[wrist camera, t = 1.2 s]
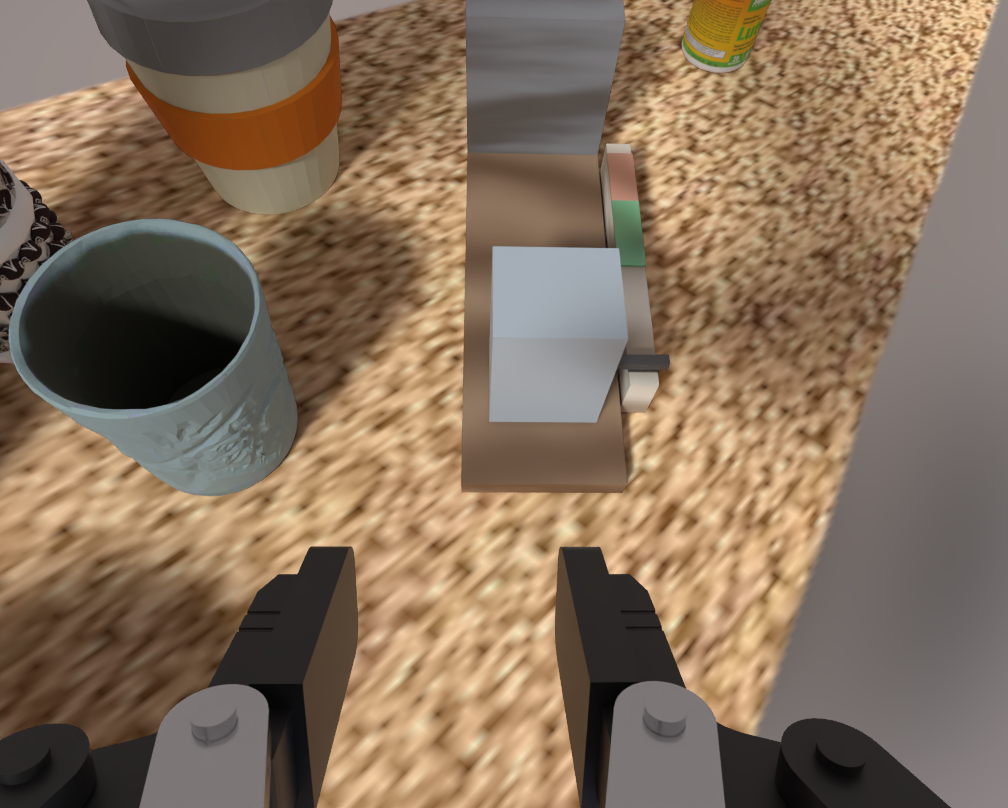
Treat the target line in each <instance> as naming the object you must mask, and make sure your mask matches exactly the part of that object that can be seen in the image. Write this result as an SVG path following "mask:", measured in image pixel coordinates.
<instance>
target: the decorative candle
mask: <svg viewBox="0 0 1008 808" xmlns="http://www.w3.org/2000/svg"><path fill="white" fill-rule="evenodd" d="M56 221H57V216H56V214H55V212H54V211H52V210H51V209H49V208H48V207H47V206H46V205H45V204H43V203H42V197H41V195H40V193H39V192H38V191H37V190H35V189H33V188H30V187H29V185H28V184H27V183H26V182H24V181H22V180H19V179H18V178H17V177H16V176H15V174H14V173H13V172H12V171H11V170H10V168H9V167H8V166H7V165H6V163H5V162H4V161H1V160H0V363H12V364H14V362H13V359H12V357H11V353H10V345H9V324H10V320H11V316H12V313H13V310H14V307H15V303H16V300H17V299H18V297H19V295H20V294H21V292H22V290H23V289H24V287H25V285H26V284H27V282H28V280H29V279H30V278H31V277H32V275H33V274H34V273H35V272H36V271H37V270H38V269H39V267H40V266H41V265H42V264H43V263H44V262H46V261H47V260H48V259H49V258H50V257H51V256H53V255H54V254H55V253H56V252H57V251H59V250H60V249H61V248H63V247H64V246H66V245H67V244H69V243H71V242H73V240H72V239H73V234H72V233H71V232H70V231H68V230H65V229H64V227H63V226H62V225H61V224H60V223H59V222H56Z"/></svg>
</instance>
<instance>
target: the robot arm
mask: <svg viewBox="0 0 1008 808" xmlns="http://www.w3.org/2000/svg"><path fill="white" fill-rule="evenodd" d="M357 639H358V608H357V592H356V575H355V558H354V551H353V548H352V547H310V548H309V550H308V552H307V554H306V556H305V558H304V561H303V563H302V565H301V567H300V570H299V572H298V574H279V575H277V576H276V577H275V578H274V579H273V580H271V581H270V582H269V583H268V584H266V585H265V586H264V587H263V588H262V589H260V590H259V591H258V592H257V594H256V596H255V598H254V600H253V602H252V604H251V606H250V608H249V610H248V614H247V615H245V617H244V619H243V621H242V623H241V625H240V627H239V632H237V633H236V635H235V637H234V638H233V640H232V642H231V644H230V646H229V648H228V650H227V652H226V654H225V656H224V658H223V660H222V662H221V663H220V665H219V667H218V669H217V671H216V673H215V675H214V677H213V679H212V681H211V683H210V685H209V686H208V688H207V689H204V690H201V691H199V692H196V693H194V694H192V695H190V696H189V697H187V698H185V699H184V700H182V701H181V702H179V703H178V704H177V705H176V706H174V707H173V708H172V709H171V710H170V711H169V712H168V714H167V715H166V716H165V717H164V719H163V721H162V722H161V724H160V727H159V730H158V732H157V733H154V734H152V735H149V736H146V737H143V738H139V739H136V740H132V741H128V742H124V743H120V744H116V745H112V746H108V747H104V748H100V749H96V750H92V751H91V749H90V745H89V740H88V737H87V735H86V734H85V732H83V731H82V730H81V729H80V728H77V727H75V726H72V725H68V724H46V725H40V726H35V727H32V728H28V729H25V730H22V731H20V732H17V733H15V734H13V735H10V736H8V737H6V738H4V739H2V740H1V741H0V808H316V807H317V803H318V799H319V796H320V792H321V788H322V784H323V780H324V776H325V772H326V768H327V764H328V760H329V756H330V752H331V748H332V745H333V741H334V737H335V733H336V729H337V725H338V721H339V717H340V713H341V709H342V705H343V701H344V697H345V693H346V690H347V686H348V682H349V678H350V674H351V670H352V666H353V662H354V658H355V654H356V648H357ZM555 643H556V654H557V661H558V667H559V673H560V680H561V686H562V693H563V699H564V706H565V712H566V718H567V725H568V731H569V738H570V744H571V751H572V757H573V763H574V770H575V776H576V783H577V789H578V796H579V802H580V808H951V807H950V806H948V805H947V804H946V803H945V802H944V801H943V800H942V799H940V798H939V797H938V796H937V795H936V794H935V793H934V792H932V791H931V790H930V789H929V788H928V787H927V786H926V785H925V784H923V783H922V782H921V781H920V780H919V779H918V778H917V777H915V776H914V775H913V774H912V773H911V772H910V771H909V770H907V769H906V768H905V767H904V766H903V765H902V764H900V763H899V762H898V761H897V760H896V759H895V758H894V757H893V756H892V755H890V754H889V753H888V752H887V751H886V750H885V749H883V748H882V747H881V746H880V745H879V744H878V743H877V742H875V741H874V740H873V739H871V738H870V737H868V736H867V735H865V734H864V733H862V732H860V731H859V730H857V729H855V728H853V727H850V726H848V725H845V724H843V723H839V722H836V721H833V720H827V719H816V718H813V719H804V720H801V721H797V722H795V723H793V724H791V726H789V727H788V728H787V729H786V730H785V732H784V734H783V736H782V740H781V742H777V741H773V740H769V739H765V738H761V737H757V736H753V735H749V734H745V733H741V732H738V731H735V730H732V729H730V728H727V727H725V726H723V725H721V724H719V723H717V722H716V719H715V717H714V714H713V712H712V711H711V709H710V708H709V706H708V705H707V704H706V703H705V702H704V701H703V700H702V699H701V698H700V697H698V696H697V695H696V694H694V693H693V692H691V691H689V690H687V689H686V687H685V685H684V682H683V680H682V677H681V675H680V672H679V669H678V667H677V664H676V662H675V659H674V657H673V654H672V652H671V649H670V647H669V644H668V641H667V639H666V636H665V634H664V631H662V626H661V624H660V621H659V618H658V616H657V614H655V608H654V606H653V603H652V601H651V598H650V596H649V593H648V591H647V590H646V589H645V588H644V587H643V586H642V585H641V584H640V583H639V582H637V581H636V580H635V579H634V578H633V577H632V576H631V575H630V574H609V573H608V570H607V567H606V563H605V560H604V557H603V554H602V551H601V548H600V547H560V549H559V555H558V572H557V592H556V611H555Z"/></svg>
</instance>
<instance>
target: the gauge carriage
mask: <svg viewBox="0 0 1008 808" xmlns="http://www.w3.org/2000/svg"><path fill="white" fill-rule="evenodd" d="M627 341H628V332H627V322H626V312H625V302H624V292H623V282H622V273H621V263H620V253H619V248H567V247H506V246H493V251H492V280H491V310H490V340H489V422H588V423H596V422H597V420H598V417H599V414H600V412H601V409H602V407H603V404H604V401H605V399H606V396H607V393H608V391H609V388H610V385H611V383H612V380H613V378H614V375H615V372H616V370H617V369H634V370H667V369H668V367H669V365H670V360H669V355H639V354H623V351H624V349H625V346H626V343H627Z"/></svg>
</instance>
